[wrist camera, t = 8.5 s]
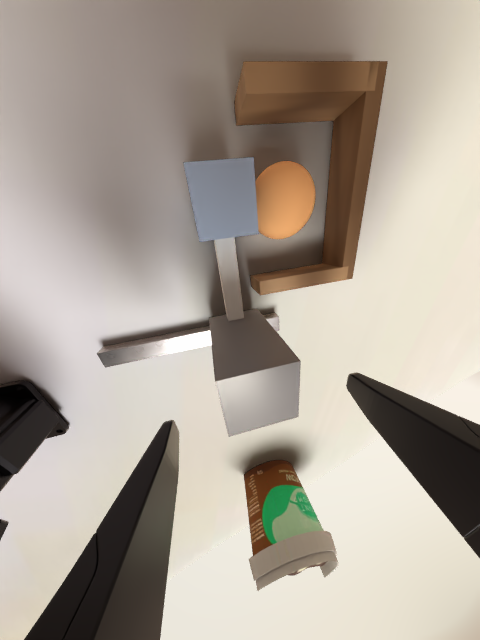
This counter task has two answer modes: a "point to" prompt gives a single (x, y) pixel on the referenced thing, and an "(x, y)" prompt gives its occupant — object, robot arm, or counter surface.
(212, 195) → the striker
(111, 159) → the counter surface
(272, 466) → the food container
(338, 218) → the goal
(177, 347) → the rail
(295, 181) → the ball
